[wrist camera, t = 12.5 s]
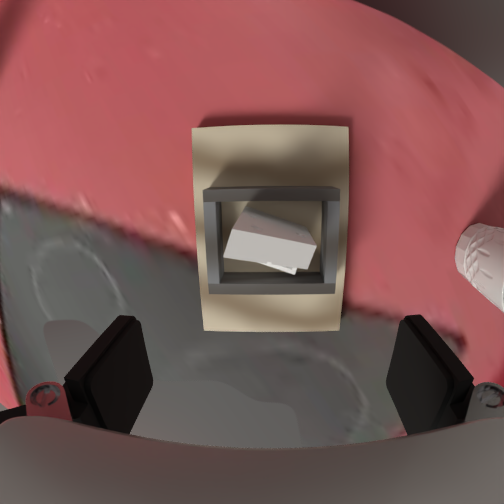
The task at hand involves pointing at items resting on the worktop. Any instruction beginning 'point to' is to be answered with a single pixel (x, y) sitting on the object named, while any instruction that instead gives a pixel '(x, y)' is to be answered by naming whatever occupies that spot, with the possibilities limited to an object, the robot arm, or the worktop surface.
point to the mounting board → (278, 204)
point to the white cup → (483, 260)
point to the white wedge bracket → (270, 241)
